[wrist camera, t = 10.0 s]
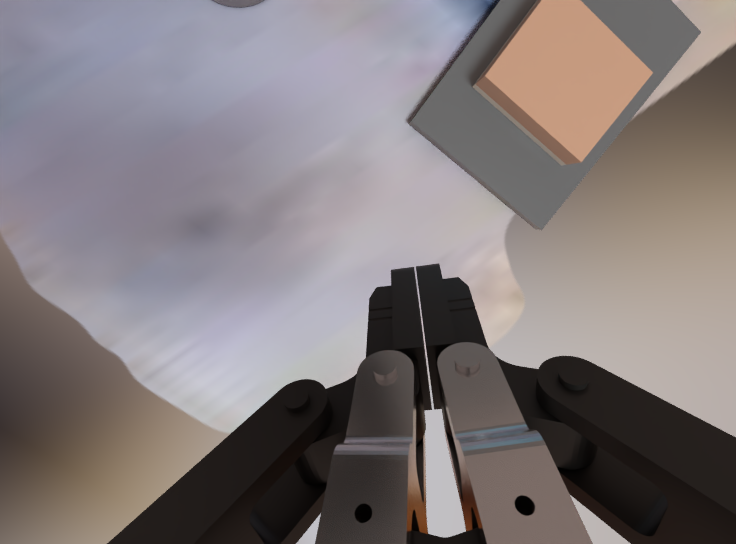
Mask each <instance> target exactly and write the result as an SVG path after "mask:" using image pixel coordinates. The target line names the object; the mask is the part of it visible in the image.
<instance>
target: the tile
mask: <svg viewBox="0 0 736 544" xmlns="http://www.w3.org/2000/svg"><path fill="white" fill-rule="evenodd" d="M652 74H653V72H652V71H651V70H650V69H649V68H648V67H647V66H646V65H645V64H644V63H643V62H642V61H641V60H640V59H639V58H638V57H637V56H636V55H635V54H634V53H633V52H632V51H631V50H630V49H629V48H628V47H627V46H626V45H625V44H624V43H623V42H622V41H621V40H620V39H619V38H618V37H617V36H616V35H615V34H614V33H613V32H612V31H611V30H610V29H609V28H608V27H607V26H606V25H605V24H604V23H603V22H602V21H601V20H600V19H599V18H598V17H597V16H596V15H595V14H594V13H593V12H592V11H591V10H590V9H589V8H588V7H587V6H586V5H585V4H584V3H583V2H582V1H581V0H537V1H536V2H535V4H534V5H533V6H532V8H531V9H530V10H529V12H528V13H527V14H526V16H525V17H524V18H523V20H522V21H521V22H520V24H519V25H518V26H517V28H516V29H515V30H514V32H513V33H512V34H511V36H510V37H509V38H508V40H507V41H506V42H505V44H504V45H503V46H502V48H501V49H500V50H499V52H498V53H497V54H496V56H495V57H494V58H493V60H492V61H491V62H490V64H489V65H488V66H487V68H486V69H485V70H484V72H483V73H482V74H481V76H480V77H479V79H478V80H477V81H476V83H475V84H474V85H473V88H474V89H475V90H476V91H477V92H479V93H480V94H481V95H482V96H483V97H484V98H485V99H486V100H488V101H489V102H490V103H491V104H492V105H493V106H494V107H496V108H497V109H498V110H499V111H500V112H501V113H502V114H503V115H505V116H506V117H507V118H508V119H509V120H510V121H511V122H513V123H514V124H515V125H516V126H517V127H518V128H519V129H520V130H522V131H523V132H524V133H525V134H526V135H527V136H528V137H530V138H531V139H532V140H533V141H534V142H535V143H536V144H537V145H539V146H540V147H541V148H542V149H543V150H544V151H545V152H547V153H548V154H549V155H550V156H551V157H552V158H553V159H554V160H556V161H557V162H558V163H559V164H560V165H561V166H562V165H568V164H574V163H580V162H582V161H583V160H584V158H585V157H586V156H587V155H588V153H589V152H590V151H591V150H592V148H593V147H594V146H595V145H596V143H597V142H598V141H599V140H600V138H601V137H602V136H603V135H604V133H605V132H606V131H607V130H608V129H609V127H610V126H611V125H612V124H613V122H614V121H615V120H616V119H617V117H618V116H619V115H620V114H621V112H622V111H623V110H624V109H625V107H626V106H627V105H628V104H629V102H630V101H631V100H632V99H633V97H634V96H635V95H636V94H637V92H638V91H639V90H640V89H641V87H642V86H643V85H644V84H645V82H646V81H647V80H648V79H649V77H650V76H651V75H652Z"/></svg>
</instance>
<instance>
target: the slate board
mask: <svg viewBox="0 0 736 544" xmlns="http://www.w3.org/2000/svg"><path fill="white" fill-rule="evenodd" d="M536 1H537V0H500V1H499V2H498V3H497V5H496V6H495V8H494V9H493V10H492V12H491V13H490V14H489V16H488V17H487V18H486V20H485V21H484V23H483V24H482V25H481V27H480V28H479V29H478V31H477V32H476V33H475V35H474V36H473V37H472V39H471V40H470V42H469V43H468V44H467V46H466V47H465V48H464V50H463V51H462V52H461V54H460V55H459V57H458V58H457V59H456V61H455V62H454V63H453V65H452V66H451V67H450V69H449V70H448V71H447V73H446V74H445V76H444V77H443V78H442V80H441V81H440V82H439V84H438V85H437V86H436V88H435V89H434V91H433V92H432V93H431V95H430V96H429V97H428V99H427V100H426V101H425V103H424V104H423V105H422V107H421V108H420V110H419V111H418V112H417V114H416V115H415V116H414V118H413V119H412V120H411V122H410V123H409V124H410V125H411V126H412V127H413V128H414V129H416V130H417V131H418V132H419V133H420V134H422V135H423V136H424V137H425V138H426V139H428V140H429V141H430V142H431V143H432V144H434V145H435V146H436V147H437V148H438V149H440V150H441V151H442V152H443V153H444V154H446V155H447V156H448V157H449V158H450V159H452V160H453V161H454V162H455V163H456V164H458V165H459V166H460V167H461V168H462V169H464V170H465V171H466V172H467V173H468V174H470V175H471V176H472V177H473V178H475V179H476V180H477V181H478V182H479V183H481V184H482V185H483V186H484V187H485V188H487V189H488V190H489V191H490V192H491V193H493V194H494V195H495V196H496V197H497V198H499V199H500V200H501V201H502V202H503V203H505V204H506V205H507V206H508V207H509V208H511V209H512V210H513V211H514V212H515V213H517V214H518V215H519V216H520V217H521V218H523V219H524V220H525V221H526V222H527V223H529V224H530V225H531V226H532V227H533V228H535V229H539V230H542V229H543V228H544V226H545V225H546V224H547V223H548V221H549V220H550V219H551V218H552V217H553V215H554V214H555V213H556V211H557V210H558V209H559V208H560V207H561V205H562V204H563V203H564V202H565V200H566V199H567V198H568V197H569V195H570V194H571V193H572V192H573V190H574V189H575V188H576V187H577V186H578V184H579V183H580V181H582V179H583V178H584V177H585V176H586V174H587V173H588V172H589V171H590V169H591V168H592V167H593V166H594V164H595V163H596V162H597V161H598V160H599V158H600V157H601V156H602V155H603V153H604V152H605V151H606V150H607V148H608V147H609V146H610V145H611V143H612V142H613V141H614V140H615V138H616V137H617V136H618V135H619V133H620V132H621V131H622V130H623V129H624V127H625V126H626V125H627V124H628V122H629V121H630V120H631V119H632V117H633V116H634V115H635V114H636V112H637V111H638V110H639V109H640V107H641V106H642V105H643V104H644V102H645V101H646V100H647V99H648V97H649V96H650V95H651V94H652V93H653V91H654V90H655V89H656V88H657V86H658V85H659V84H660V83H661V81H662V80H663V79H664V78H665V76H666V75H667V74H668V73H669V71H670V70H671V69H672V68H673V66H674V65H675V64H676V63H677V62H678V60H679V59H680V58H681V57H682V55H683V54H684V53H685V52H686V50H687V49H688V48H689V47H690V45H691V44H692V43H693V42H694V40H695V39H696V38H697V37H698V35H699V34H700V33H701V31H700V30H699V29H698V28H697V27H696V26H695V25H694V24H693V23H692V22H691V21H690V20H689V19H688V18H687V17H686V16H685V15H684V14H683V12H682V11H681V10H680V9H679V8H678V7H677V6H676V5H675V4H674V3H673V2H672V1H671V0H581V1H582V2H583V3H584V4H585V5H586V6H587V7H588V8H589V9H590V10H591V11H592V12H593V13H594V14H595V15H596V16H597V17H598V18H599V19H600V20H601V21H602V22H603V23H604V24H605V25H606V26H607V27H608V28H609V29H610V30H611V31H612V32H613V33H614V34H615V35H616V36H617V37H618V38H619V39H620V40H621V41H622V42H623V43H624V44H625V45H626V46H627V47H628V48H629V49H630V50H631V51H632V52H633V53H634V54H635V55H636V56H637V57H638V58H639V59H640V60H641V61H642V62H643V63H644V64H645V65H646V66H647V67H648V68H649V69H650V70H651V71H652V72H653V74H652V75H651V76H650V77H649V79H648V80H647V81H646V82H645V84H644V85H643V86H642V87H641V89H640V90H639V91H638V92H637V94H636V95H635V96H634V97H633V99H632V100H631V101H630V102H629V104H628V105H627V106H626V107H625V109H624V110H623V111H622V112H621V114H620V115H619V116H618V117H617V119H616V120H615V121H614V122H613V124H612V125H611V126H610V127H609V129H608V130H607V131H606V132H605V133H604V135H603V136H602V137H601V138H600V140H599V141H598V142H597V143H596V145H595V146H594V147H593V148H592V150H591V151H590V152H589V153H588V155H587V156H586V157H585V158H584V160H583V161H582V162H580V163H574V164H568V165H562V166H561V165H560V164H559V163H558V162H557V161H556V160H554V159H553V158H552V157H551V156H550V155H549V154H548V153H547V152H545V151H544V150H543V149H542V148H541V147H540V146H539V145H537V144H536V143H535V142H534V141H533V140H532V139H531V138H530V137H528V136H527V135H526V134H525V133H524V132H523V131H522V130H520V129H519V128H518V127H517V126H516V125H515V124H514V123H513V122H511V121H510V120H509V119H508V118H507V117H506V116H505V115H503V114H502V113H501V112H500V111H499V110H498V109H497V108H496V107H494V106H493V105H492V104H491V103H490V102H489V101H488V100H486V99H485V98H484V97H483V96H482V95H481V94H480V93H479V92H477V91H476V90H475V89H474V88H473V85H474V84H475V83H476V81H477V80H478V79H479V77H480V76H481V74H482V73H483V72H484V70H485V69H486V68H487V66H488V65H489V64H490V62H491V61H492V60H493V58H494V57H495V56H496V54H497V53H498V52H499V50H500V49H501V48H502V46H503V45H504V44H505V42H506V41H507V40H508V38H509V37H510V36H511V34H512V33H513V32H514V30H515V29H516V28H517V26H518V25H519V24H520V22H521V21H522V20H523V18H524V17H525V16H526V14H527V13H528V12H529V10H530V9H531V8H532V6H533V5H534V4H535V2H536Z"/></svg>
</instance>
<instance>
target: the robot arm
mask: <svg viewBox="0 0 736 544" xmlns="http://www.w3.org/2000/svg"><path fill="white" fill-rule="evenodd" d="M213 1H215V2H217V3H219V4H223V5H226V6H230V7H247V6H252V5H255V4H258V3H260V2H262V1H264V0H213ZM416 271H417V279H418V286H419V294H420V302H421V310H422V318H423V326H424V334H425V342H426V349H427V357H428V365H429V372H430V380H431V387H432V395H433V403H434V409H442V413H443V420H444V427H445V436H446V441H447V445H448V450H449V454H450V458H451V462H452V467H453V471H454V476H455V480H456V484H457V488H458V493H459V497H460V502H461V506H462V511H463V516H464V521H465V528H466V532H463V533H461V534H458V535H455V536H452V537H448V538H442V537H438V536H434V535H430V534H428V528H427V517H426V467H425V466H426V462H425V430H426V423H425V414H424V410H432V408H431V399H430V391H429V382H428V374H427V366H426V357H425V349H424V341H423V332H422V324H421V316H420V308H419V301H418V293H417V286H416V278H415V271H414V267H409V268H401V269H394V270H391V286H384V287H377V288H376V289H375V291H374V292H373V294H372V295H371V297H370V298H369V315H368V332H367V349H366V359H364V360H363V361H362V363H361V364H360V366H359V368H358V371H357V374H356V375H355V376H354V377H352V378H351V379H349V380H347V381H345V382H343V383H341V384H338V385H335V386H333V387H330V388H327V389H325V387H324V386H323V385H322V384H321V383H319V382H317V381H315V380H309V379H304V380H298V381H295V382H292V383H290V384H288V385H286V386H285V387H283V388H282V389H281V390H279V391H278V392H277V393H276V394H275V395H274V396H273V397H272V398H270V399H269V400H268V401H267V402H266V403H265V404H264V405H263V406H261V407H260V408H259V409H258V410H257V411H256V412H255V413H254V414H252V415H251V416H250V417H249V418H248V419H247V420H246V421H245V422H243V423H242V424H241V425H240V426H239V427H238V428H237V429H236V430H234V431H233V432H232V433H231V434H230V435H229V436H228V437H227V438H226V439H224V440H223V441H222V442H221V443H220V444H219V445H218V446H217V447H215V448H214V449H213V450H212V451H211V452H210V453H209V454H208V455H206V456H205V457H204V458H203V459H202V460H201V461H200V462H199V463H197V464H196V465H195V466H194V467H193V468H192V469H191V470H190V471H189V472H187V473H186V474H185V475H184V476H183V477H182V478H181V479H179V480H178V481H177V482H176V483H175V484H174V485H173V486H172V487H170V488H169V489H168V490H167V491H166V492H165V493H164V494H163V495H161V496H160V497H159V498H158V499H157V500H156V501H155V502H154V503H153V504H151V505H150V506H149V507H148V508H147V509H146V510H145V511H143V512H142V513H141V514H140V515H139V516H138V517H137V518H136V519H135V520H134V521H132V522H131V523H130V524H129V525H128V526H127V527H126V528H124V529H123V530H122V531H121V532H120V533H119V534H118V535H117V536H115V537H114V538H113V539H112V540H111V541H110V542H109V543H107V544H296V543H297V542H298V540H299V539H300V538H301V537H302V536H303V534H304V533H305V532H306V531H307V529H308V528H309V527H310V526H311V524H312V523H313V522H314V521H315V519H316V518H317V517H318V516H319V514H320V513H321V517H320V522H319V527H318V532H317V537H316V542H315V544H592V541H591V539H590V537H589V535H588V533H587V531H586V529H585V526H584V524H583V522H582V520H581V518H580V516H579V514H578V511H577V509H576V507H575V505H574V503H573V501H572V499H571V497H570V495H571V496H573V497H574V498H575V499H576V500H577V501H579V502H580V503H581V504H582V505H584V506H585V507H586V508H588V509H589V510H590V511H591V512H593V513H594V514H595V515H596V516H597V517H599V518H600V519H601V520H602V521H604V522H605V523H606V524H607V525H608V526H610V527H611V528H612V529H614V530H615V531H616V532H617V533H618V534H620V535H621V536H622V537H623V538H625V539H626V540H627V541H628V542H630V543H631V544H736V437H733V436H732V435H730V434H728V433H726V432H724V431H722V430H720V429H718V428H716V427H714V426H712V425H711V424H709V423H706V422H705V421H703V420H701V419H699V418H697V417H695V416H693V415H691V414H689V413H687V412H686V411H684V410H682V409H680V408H678V407H676V406H674V405H672V404H670V403H668V402H666V401H664V400H662V399H661V398H659V397H657V396H655V395H653V394H651V393H649V392H647V391H645V390H643V389H641V388H639V387H637V386H635V385H634V384H632V383H630V382H628V381H626V380H624V379H622V378H620V377H618V376H616V375H614V374H612V373H611V372H608V371H607V370H605V369H603V368H601V367H599V366H597V365H595V364H593V363H591V362H589V361H587V360H584V359H581V358H578V357H573V356H559V357H553V358H550V359H548V360H546V361H545V362H543V363H542V364H541V366H540V367H539V369H533V368H527V367H520V366H515V365H512V364H509V363H506V362H504V361H502V360H501V359H499V358H498V357H496V356H495V355H494V353H493V352H492V351H491V350H490V349H489V348H488V346H487V343H486V340H485V337H484V334H483V330H482V327H481V324H480V321H479V318H478V315H477V312H476V309H475V305H474V302H473V300H472V296H471V293H470V290H469V286H468V285H467V284H465V283H464V282H463V281H462V280H461V279H460V278H459V277H456V278H448V279H442V274H441V270H440V265H439V264H432V265H424V266H416ZM569 494H570V495H569Z"/></svg>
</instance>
